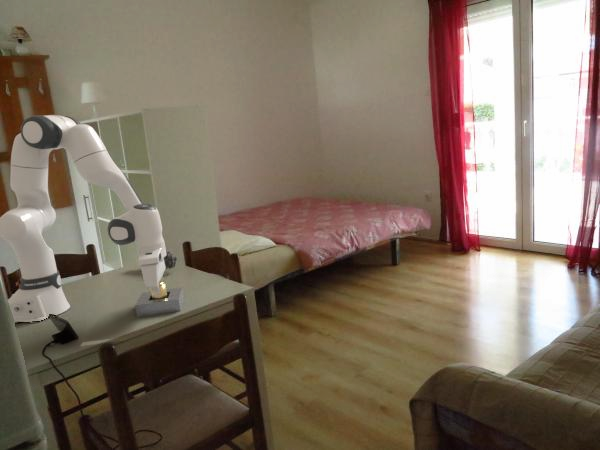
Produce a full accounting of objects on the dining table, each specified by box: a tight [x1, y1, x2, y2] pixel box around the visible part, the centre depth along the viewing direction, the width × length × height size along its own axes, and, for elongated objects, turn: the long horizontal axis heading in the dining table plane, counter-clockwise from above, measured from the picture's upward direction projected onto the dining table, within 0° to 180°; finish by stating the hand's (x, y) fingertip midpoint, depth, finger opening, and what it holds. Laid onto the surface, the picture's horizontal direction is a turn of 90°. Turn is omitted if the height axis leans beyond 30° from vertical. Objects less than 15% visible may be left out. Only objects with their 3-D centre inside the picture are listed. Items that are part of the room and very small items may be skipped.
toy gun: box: [164, 249, 178, 270], centre depth 208 cm, size 3×24×10 cm, turn 55°
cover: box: [150, 280, 168, 300], centre depth 161 cm, size 5×5×9 cm
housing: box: [134, 287, 185, 318], centre depth 162 cm, size 14×12×5 cm
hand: (158, 291), depth 161 cm, fingers closed on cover, 5 cm apart
